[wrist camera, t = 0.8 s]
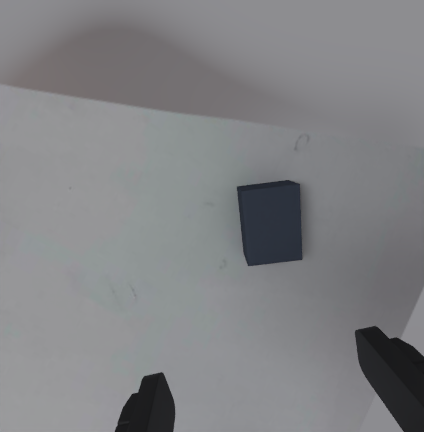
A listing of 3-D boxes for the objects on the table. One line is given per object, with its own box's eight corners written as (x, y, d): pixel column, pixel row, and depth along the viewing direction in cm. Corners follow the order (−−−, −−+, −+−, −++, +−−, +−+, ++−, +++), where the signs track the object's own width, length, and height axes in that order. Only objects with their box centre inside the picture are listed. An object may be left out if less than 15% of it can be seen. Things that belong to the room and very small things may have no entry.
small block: (237, 186, 24) (240, 191, 21) (288, 180, 23) (299, 183, 21) (243, 253, 25) (248, 266, 22) (291, 247, 25) (302, 259, 22)
